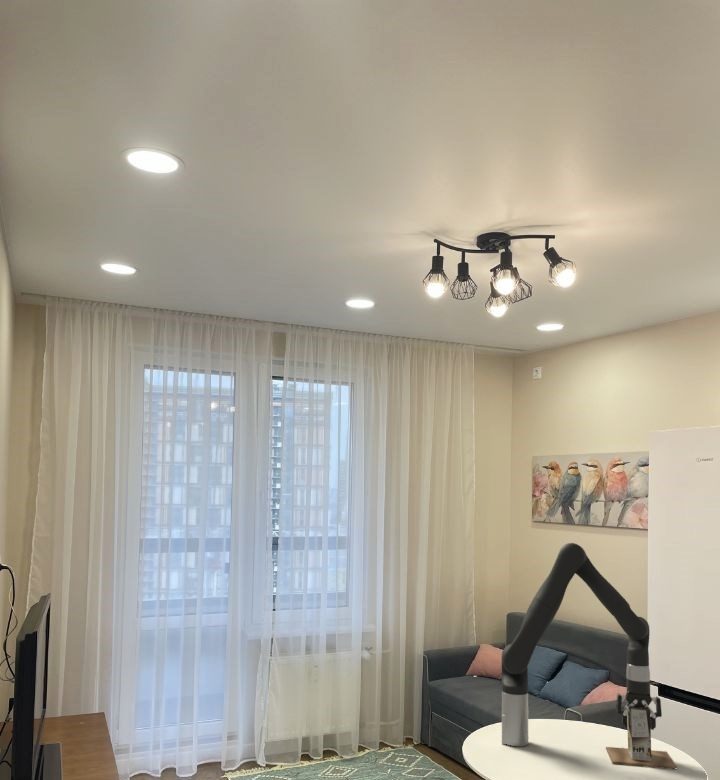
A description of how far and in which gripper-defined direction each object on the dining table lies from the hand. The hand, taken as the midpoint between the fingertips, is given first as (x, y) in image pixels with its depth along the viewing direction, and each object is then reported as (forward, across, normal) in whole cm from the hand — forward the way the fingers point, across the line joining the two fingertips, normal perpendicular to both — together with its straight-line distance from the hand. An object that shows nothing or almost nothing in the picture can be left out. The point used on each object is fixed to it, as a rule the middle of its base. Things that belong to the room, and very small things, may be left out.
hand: (639, 728), depth 254 cm
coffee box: (+9, 0, 0) cm, 9 cm away
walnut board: (+10, 0, 0) cm, 10 cm away
